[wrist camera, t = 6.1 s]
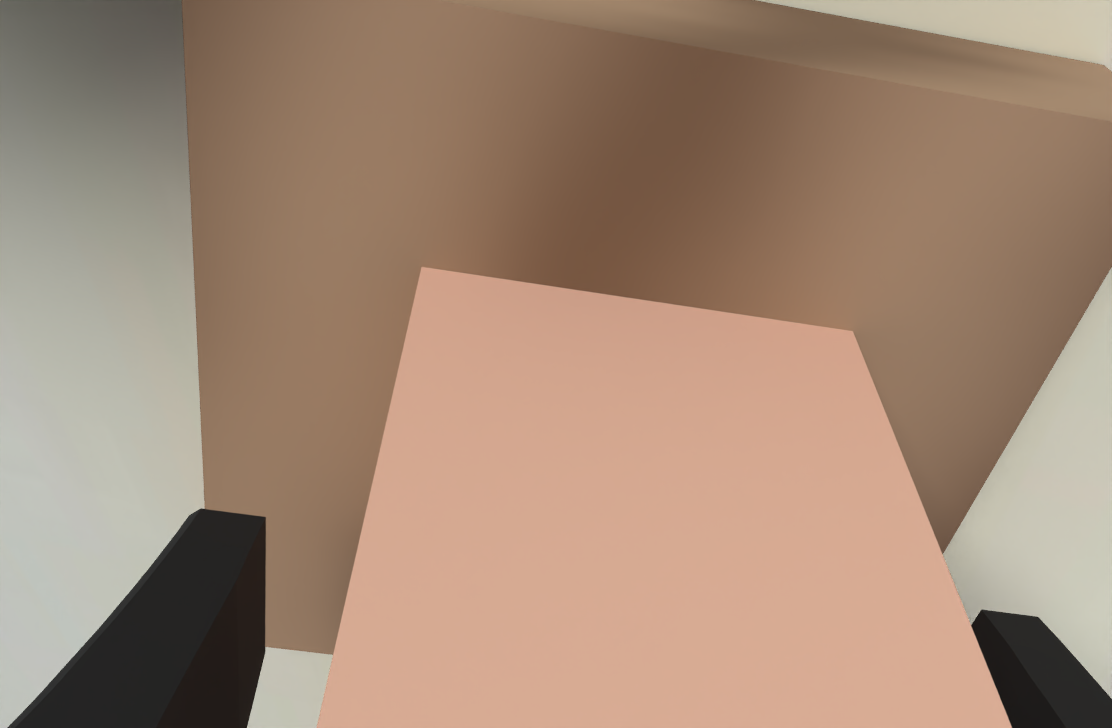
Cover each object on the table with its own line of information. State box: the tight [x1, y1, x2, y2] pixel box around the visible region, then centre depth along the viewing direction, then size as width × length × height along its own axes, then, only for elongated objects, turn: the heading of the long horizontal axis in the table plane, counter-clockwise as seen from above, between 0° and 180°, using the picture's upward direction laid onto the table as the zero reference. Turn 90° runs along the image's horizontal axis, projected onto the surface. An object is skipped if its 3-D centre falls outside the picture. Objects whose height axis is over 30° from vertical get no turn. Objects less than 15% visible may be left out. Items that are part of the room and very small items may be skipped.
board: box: [182, 0, 1112, 655], centre depth 13 cm, size 10×10×2 cm
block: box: [317, 267, 1012, 728], centre depth 10 cm, size 5×5×6 cm
